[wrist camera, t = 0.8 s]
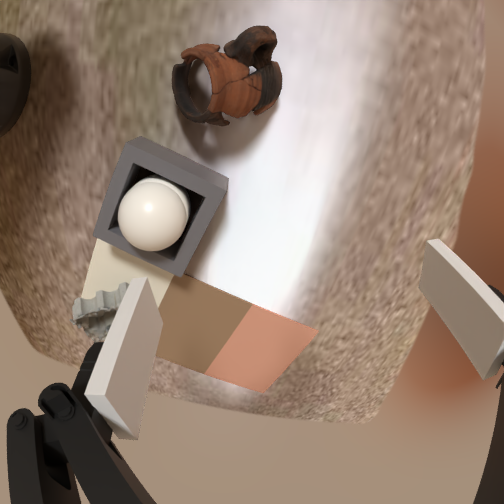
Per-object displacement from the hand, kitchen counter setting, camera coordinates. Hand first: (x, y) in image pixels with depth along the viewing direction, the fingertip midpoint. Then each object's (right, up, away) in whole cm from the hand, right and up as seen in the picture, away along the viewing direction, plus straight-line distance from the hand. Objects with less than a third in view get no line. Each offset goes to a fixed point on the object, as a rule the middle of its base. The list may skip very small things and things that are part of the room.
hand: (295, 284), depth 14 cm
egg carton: (-20, -4, +28) cm, 35 cm away
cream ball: (-12, +7, +20) cm, 24 cm away
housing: (-12, +8, +21) cm, 26 cm away
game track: (-11, -9, +30) cm, 33 cm away
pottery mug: (-1, +21, +15) cm, 26 cm away
